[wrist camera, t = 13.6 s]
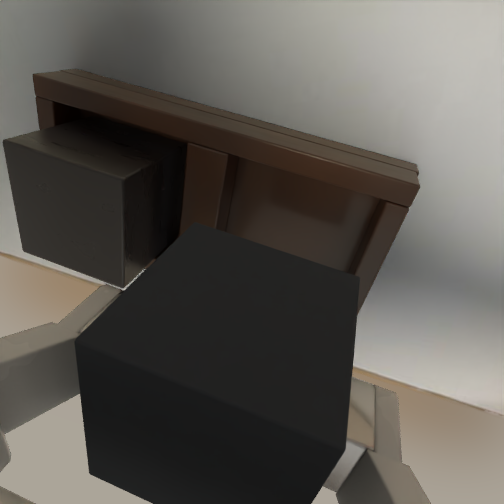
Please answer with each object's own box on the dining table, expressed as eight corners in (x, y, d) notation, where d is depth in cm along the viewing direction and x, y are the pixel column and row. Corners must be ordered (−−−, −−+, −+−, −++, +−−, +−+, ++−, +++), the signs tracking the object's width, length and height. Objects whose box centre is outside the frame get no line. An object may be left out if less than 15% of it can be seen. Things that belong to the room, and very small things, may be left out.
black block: (194, 221, 9) (72, 340, 6) (361, 276, 9) (347, 451, 5) (180, 337, 12) (88, 474, 8) (310, 387, 11) (275, 561, 7)
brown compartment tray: (85, 214, 19) (-4, 268, 15) (75, 68, 16) (-50, 80, 11) (351, 306, 17) (341, 400, 13) (417, 164, 13) (437, 228, 9)
